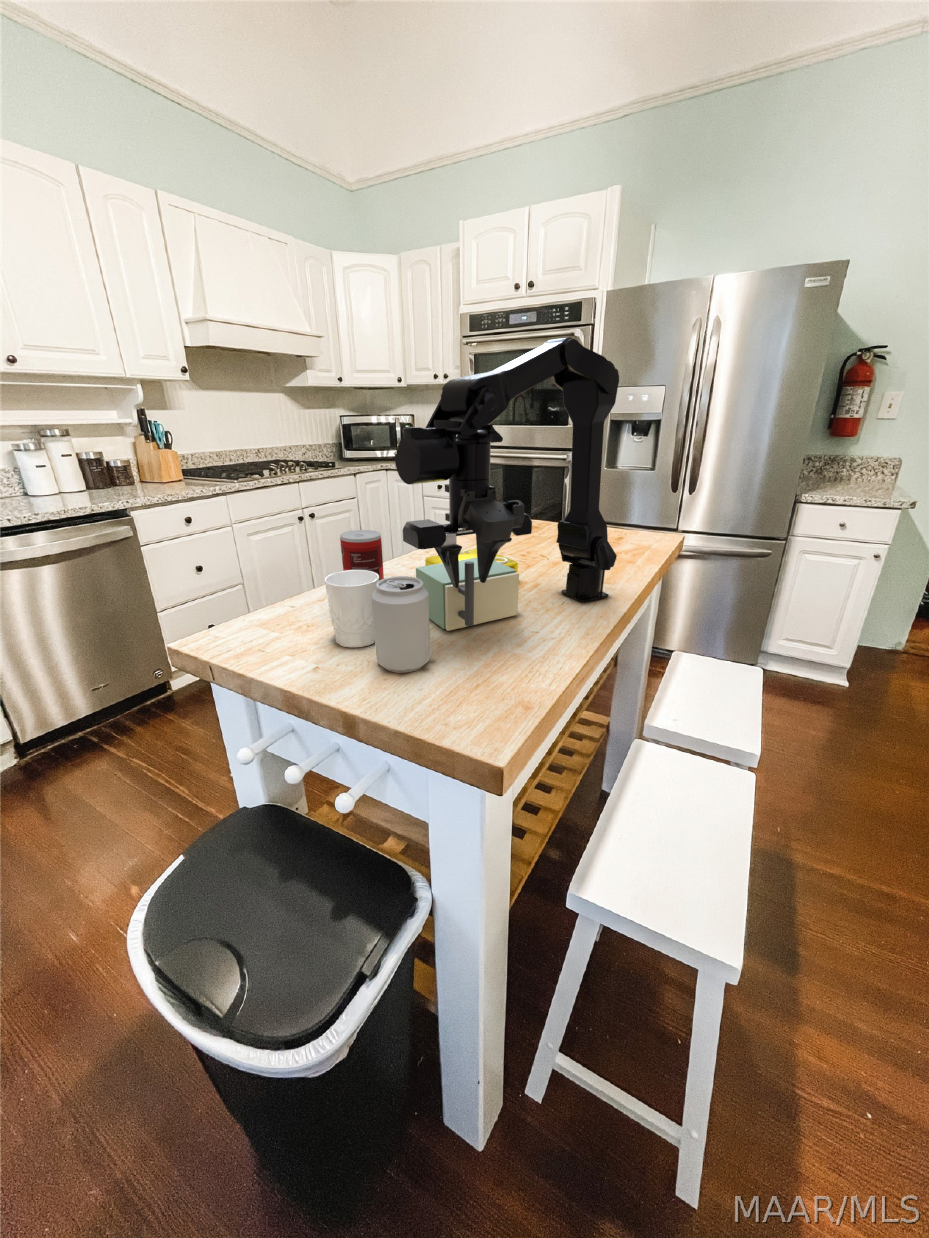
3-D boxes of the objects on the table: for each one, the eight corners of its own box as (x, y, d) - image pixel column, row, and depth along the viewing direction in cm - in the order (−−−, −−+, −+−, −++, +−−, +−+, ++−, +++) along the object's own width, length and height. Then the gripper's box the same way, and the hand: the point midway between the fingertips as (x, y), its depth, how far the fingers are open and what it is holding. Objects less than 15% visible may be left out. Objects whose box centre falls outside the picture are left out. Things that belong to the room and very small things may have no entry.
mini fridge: (484, 596, 95) (484, 556, 92) (514, 614, 87) (516, 570, 84) (417, 610, 89) (415, 567, 85) (443, 630, 81) (442, 583, 77)
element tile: (479, 565, 114) (479, 545, 112) (521, 583, 102) (522, 560, 100) (422, 577, 106) (421, 555, 104) (460, 597, 95) (460, 573, 93)
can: (422, 678, 66) (418, 593, 62) (368, 672, 68) (361, 589, 63) (436, 653, 73) (434, 575, 68) (387, 648, 74) (382, 571, 70)
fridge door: (514, 613, 87) (517, 547, 82) (529, 621, 83) (533, 553, 79) (445, 629, 80) (444, 558, 76) (458, 639, 77) (458, 566, 72)
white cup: (392, 632, 80) (388, 572, 76) (367, 653, 73) (362, 588, 69) (349, 625, 82) (343, 567, 78) (321, 645, 75) (313, 582, 72)
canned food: (365, 580, 104) (360, 527, 100) (393, 587, 100) (389, 533, 96) (336, 590, 99) (330, 535, 94) (364, 598, 94) (360, 541, 90)
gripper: (435, 490, 58) (438, 614, 65) (559, 480, 67) (552, 589, 73) (398, 480, 67) (404, 589, 73) (512, 471, 76) (508, 570, 82)
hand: (469, 584), depth 75 cm, fingers open, 4 cm apart
